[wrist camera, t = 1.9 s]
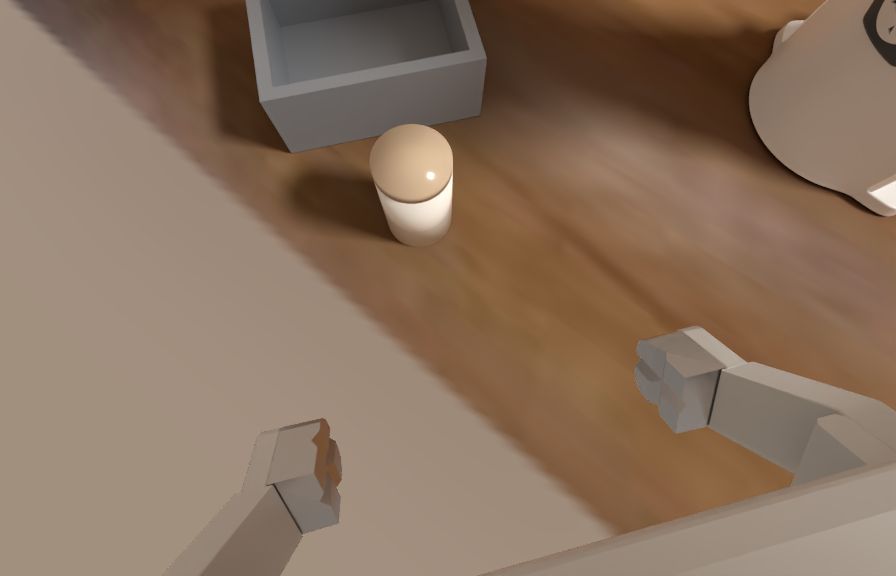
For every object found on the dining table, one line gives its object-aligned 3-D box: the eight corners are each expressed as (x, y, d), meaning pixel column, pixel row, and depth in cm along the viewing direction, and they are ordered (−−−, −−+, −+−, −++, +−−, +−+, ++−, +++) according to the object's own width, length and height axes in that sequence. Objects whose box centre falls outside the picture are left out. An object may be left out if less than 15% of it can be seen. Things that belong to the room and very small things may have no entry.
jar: (443, 183, 33) (442, 116, 26) (458, 239, 32) (461, 187, 24) (382, 196, 33) (362, 133, 25) (394, 253, 32) (377, 205, 24)
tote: (444, -1, 38) (444, -73, 33) (480, 115, 35) (486, 58, 29) (272, 30, 37) (240, -38, 32) (291, 153, 34) (259, 101, 28)
